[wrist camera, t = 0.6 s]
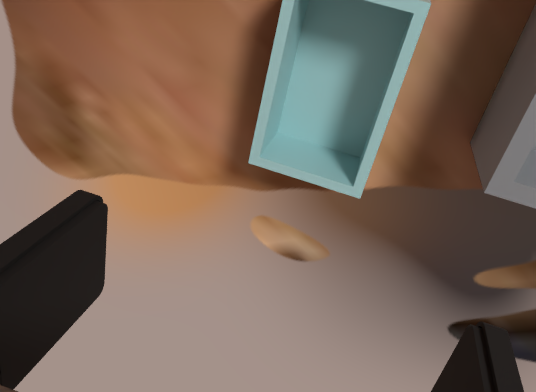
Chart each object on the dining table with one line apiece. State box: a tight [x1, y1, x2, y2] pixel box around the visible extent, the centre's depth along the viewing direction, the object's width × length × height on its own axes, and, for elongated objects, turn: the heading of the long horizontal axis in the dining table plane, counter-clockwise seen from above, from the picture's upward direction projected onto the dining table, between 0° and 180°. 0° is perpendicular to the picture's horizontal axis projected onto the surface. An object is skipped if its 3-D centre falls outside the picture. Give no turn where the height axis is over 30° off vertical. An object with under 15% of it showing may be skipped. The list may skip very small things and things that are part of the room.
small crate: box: [248, 0, 431, 199], centre depth 28 cm, size 11×7×5 cm, turn 168°
